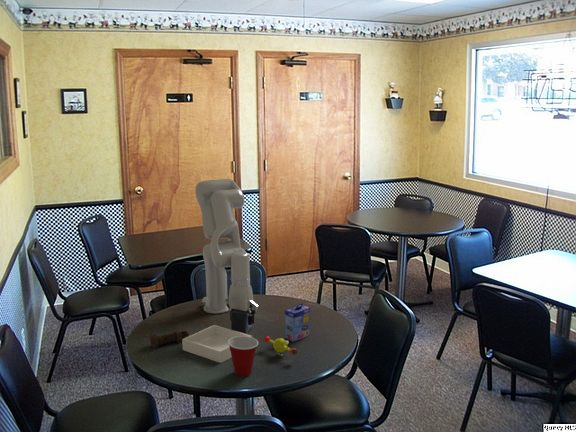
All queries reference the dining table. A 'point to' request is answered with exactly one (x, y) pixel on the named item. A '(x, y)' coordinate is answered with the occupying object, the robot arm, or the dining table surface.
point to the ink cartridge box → (297, 322)
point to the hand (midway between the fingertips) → (242, 321)
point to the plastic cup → (242, 354)
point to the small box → (240, 321)
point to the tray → (211, 343)
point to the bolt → (168, 338)
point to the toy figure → (280, 345)
